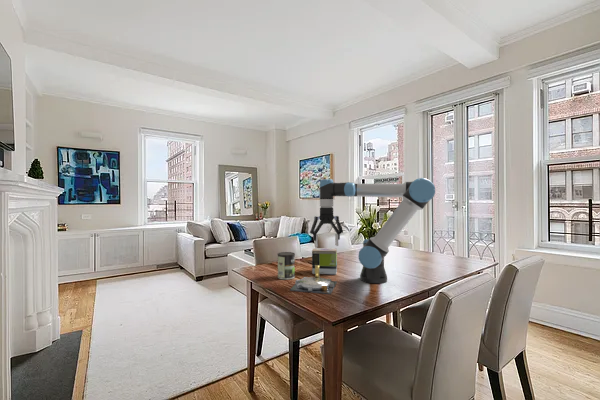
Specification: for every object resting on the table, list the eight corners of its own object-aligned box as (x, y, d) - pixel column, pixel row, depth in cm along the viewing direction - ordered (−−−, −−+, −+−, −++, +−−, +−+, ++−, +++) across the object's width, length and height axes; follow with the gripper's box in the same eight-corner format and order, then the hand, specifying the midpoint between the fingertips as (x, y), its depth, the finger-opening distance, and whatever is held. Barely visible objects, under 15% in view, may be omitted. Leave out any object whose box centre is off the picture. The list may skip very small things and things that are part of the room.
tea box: (337, 271, 189) (337, 248, 189) (336, 275, 180) (336, 250, 179) (313, 270, 192) (313, 247, 192) (311, 274, 182) (311, 250, 182)
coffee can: (296, 275, 179) (296, 252, 179) (292, 280, 169) (292, 255, 168) (280, 274, 181) (280, 251, 181) (275, 279, 171) (275, 254, 170)
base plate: (336, 282, 164) (336, 281, 164) (330, 294, 144) (330, 293, 144) (300, 279, 170) (300, 278, 170) (289, 290, 150) (289, 289, 149)
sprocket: (336, 281, 164) (336, 265, 164) (330, 292, 144) (330, 274, 144) (300, 278, 170) (300, 263, 169) (290, 289, 150) (290, 271, 150)
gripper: (343, 206, 171) (343, 244, 172) (304, 207, 165) (304, 246, 165) (349, 207, 164) (349, 246, 164) (308, 207, 158) (308, 248, 158)
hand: (326, 246), depth 165 cm, fingers open, 11 cm apart
